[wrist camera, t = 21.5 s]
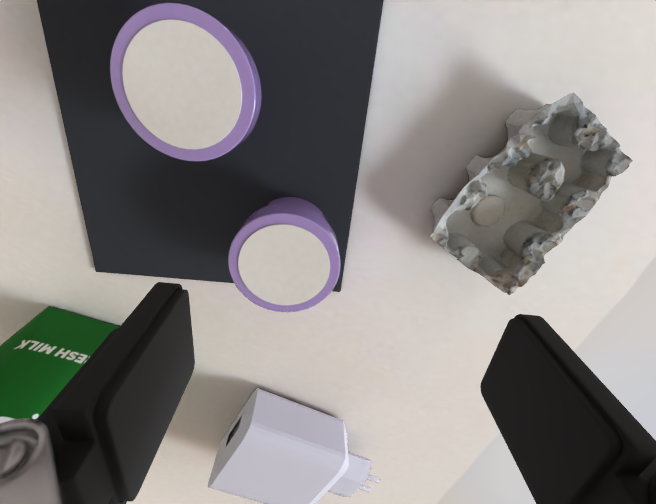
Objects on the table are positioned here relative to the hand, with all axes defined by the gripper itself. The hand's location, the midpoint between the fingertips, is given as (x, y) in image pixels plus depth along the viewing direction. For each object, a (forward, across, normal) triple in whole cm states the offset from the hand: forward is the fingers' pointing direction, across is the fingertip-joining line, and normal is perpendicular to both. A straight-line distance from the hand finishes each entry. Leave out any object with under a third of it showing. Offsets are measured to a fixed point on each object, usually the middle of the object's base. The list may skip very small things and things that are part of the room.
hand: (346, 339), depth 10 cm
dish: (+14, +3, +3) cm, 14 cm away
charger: (+14, 0, +25) cm, 29 cm away
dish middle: (+14, +8, -6) cm, 17 cm away
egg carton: (+14, -11, -2) cm, 18 cm away
